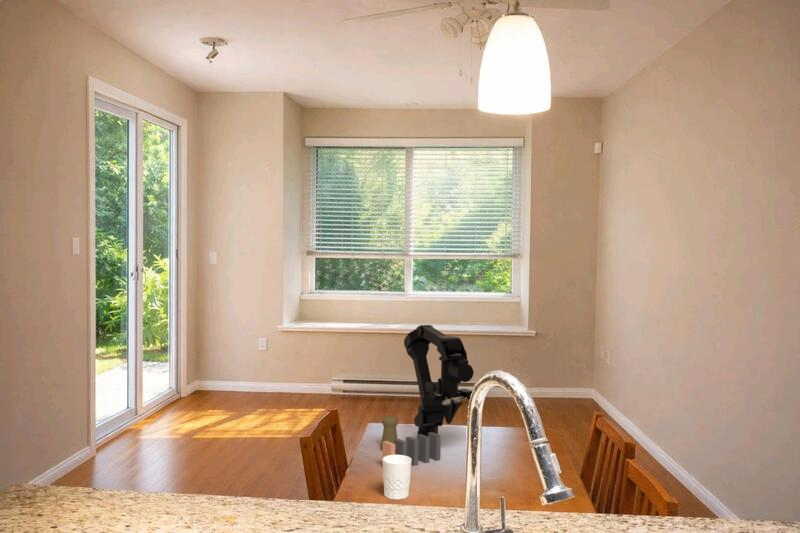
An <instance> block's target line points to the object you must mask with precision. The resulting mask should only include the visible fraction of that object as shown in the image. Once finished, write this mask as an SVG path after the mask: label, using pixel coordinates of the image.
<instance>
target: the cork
mask: <svg viewBox="0 0 800 533" xmlns="http://www.w3.org/2000/svg"><path fill="white" fill-rule="evenodd" d="M381 422H382V425H383V429H382V430H383V431H382V436H381V442H380V450H381V451H383V441H389V442H391V443H393V444H394V439H398V431H397V426H398V423H399V420H398V418H397V417H396V416H393V415H386V416H384V417H383V418H382V420H381Z"/></svg>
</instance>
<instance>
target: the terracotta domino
mask: <svg viewBox="0 0 800 533" xmlns="http://www.w3.org/2000/svg"><path fill="white" fill-rule="evenodd" d="M381 451H382V450H381ZM388 455H395V444H393V443H391V442H389V441H383V451H382V455H381V457H382V459H381V460H382V461H381V463H382V464H381V465H382V466H381V467H382V468H381V469H383V458H384V457H385V456H388Z"/></svg>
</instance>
